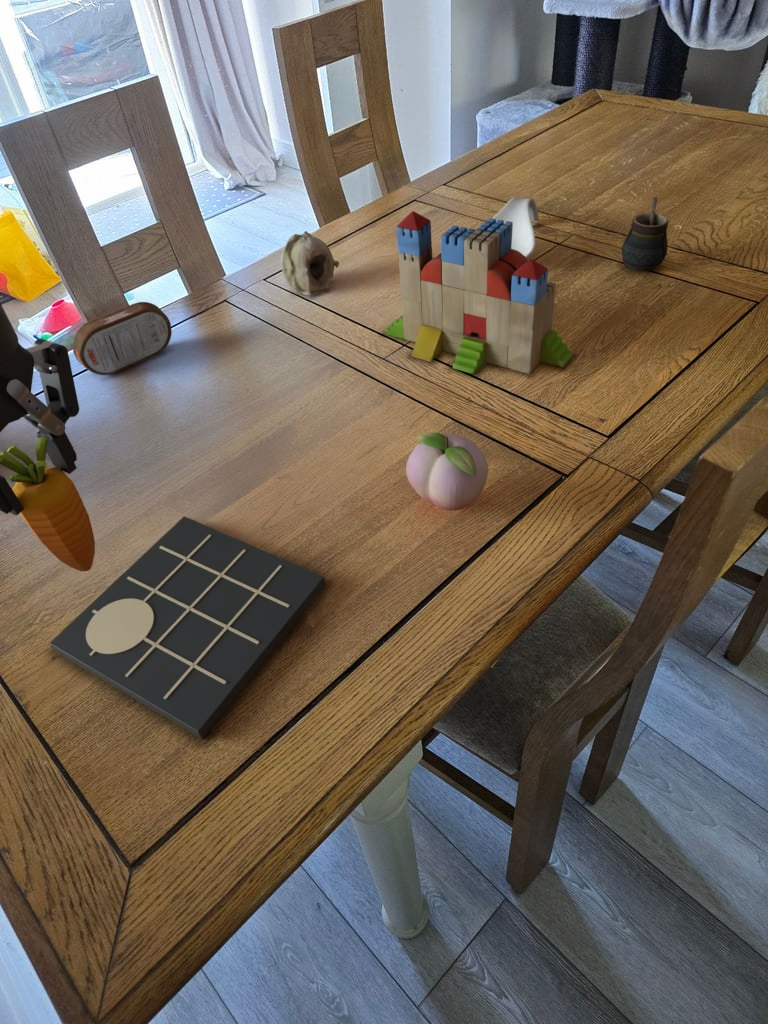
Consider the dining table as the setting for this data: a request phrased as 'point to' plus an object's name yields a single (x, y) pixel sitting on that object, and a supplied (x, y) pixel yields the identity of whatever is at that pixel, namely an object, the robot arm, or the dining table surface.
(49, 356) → the robot arm
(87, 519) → the carrot
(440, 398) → the dining table surface
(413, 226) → the block set
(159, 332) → the tin
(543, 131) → the dining table surface
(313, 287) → the beige rounded lump
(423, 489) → the decorative fruit
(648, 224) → the mate gourd
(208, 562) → the grid board
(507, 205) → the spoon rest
